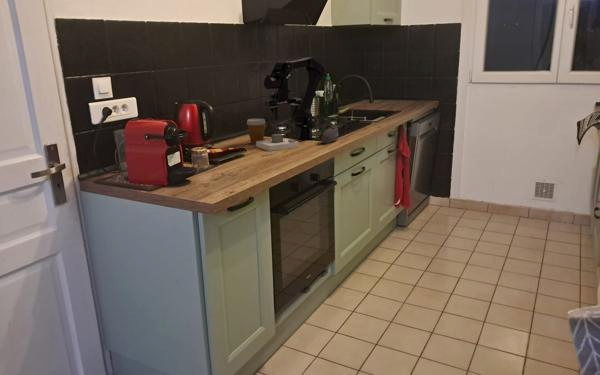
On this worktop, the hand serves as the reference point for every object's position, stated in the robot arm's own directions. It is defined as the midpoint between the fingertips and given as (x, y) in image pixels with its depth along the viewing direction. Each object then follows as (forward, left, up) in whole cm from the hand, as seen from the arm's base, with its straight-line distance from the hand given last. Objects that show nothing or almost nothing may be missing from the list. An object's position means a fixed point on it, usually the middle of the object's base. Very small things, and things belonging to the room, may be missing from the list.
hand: (284, 119), depth 244 cm
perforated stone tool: (-20, +11, -12) cm, 26 cm away
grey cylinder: (+7, +5, -12) cm, 15 cm away
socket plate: (+7, +5, -12) cm, 15 cm away
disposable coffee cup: (+11, -9, -12) cm, 19 cm away
